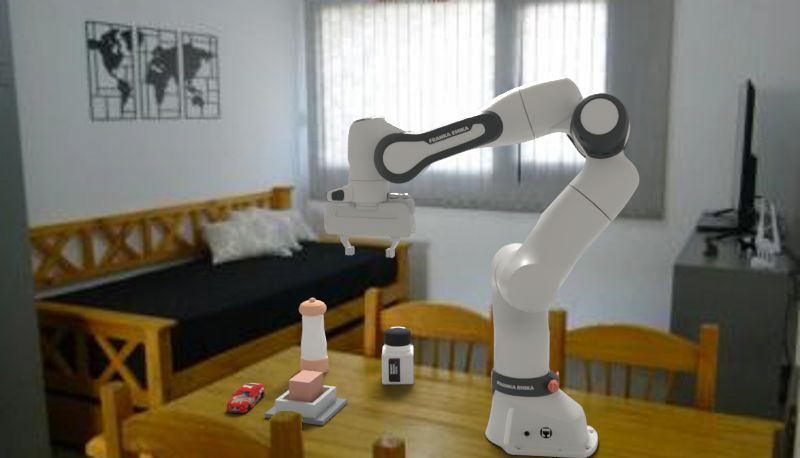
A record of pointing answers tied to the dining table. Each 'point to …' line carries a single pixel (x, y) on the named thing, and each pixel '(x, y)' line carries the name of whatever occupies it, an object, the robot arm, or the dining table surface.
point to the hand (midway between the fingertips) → (370, 255)
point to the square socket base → (311, 406)
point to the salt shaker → (313, 337)
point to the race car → (246, 398)
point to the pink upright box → (306, 386)
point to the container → (397, 357)
